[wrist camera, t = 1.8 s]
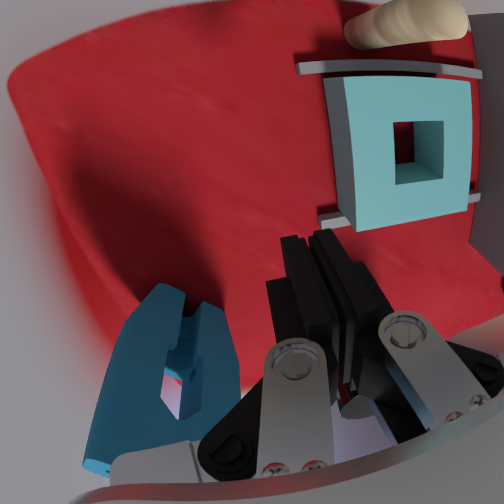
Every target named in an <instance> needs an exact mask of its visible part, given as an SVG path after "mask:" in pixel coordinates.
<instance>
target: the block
mask: <svg viewBox="0 0 504 504" xmlns="http://www.w3.org/2000/svg"><path fill="white" fill-rule="evenodd" d="M185 296H186V294H185V292H183V291H181V290H178V289H176V288H174V287H172V286H170V285H168V284H165V283H159V284H157V285H156V286H155V287H154V288H153V290H152V291H151V292H150V293H149V294H148V295H147V296H146V298H145V299H144V300H143V301H142V302H141V303H140V305H139V306H138V307H137V308H136V309H135V310H134V312H133V313H132V314H131V315H130V316H129V318H128V319H127V320H126V321H125V323H124V325H123V327H122V329H121V332H120V334H119V337H118V339H117V341H116V344H115V347H114V350H113V353H112V356H111V359H110V362H109V365H108V368H107V372H106V375H105V378H104V381H103V385H102V388H101V392H100V395H99V399H98V402H97V406H96V409H95V413H94V417H93V421H92V425H91V429H90V433H89V437H88V441H87V445H86V450H85V454H84V460H83V464H82V467H83V468H85V469H86V470H88V471H91V472H93V473H96V474H99V475H102V476H106V477H108V478H110V476H109V474H110V467H111V465H112V463H113V461H114V460H115V459H116V458H117V457H118V456H120V455H123V454H125V453H130V452H136V451H141V450H146V449H151V448H156V447H161V446H165V445H170V444H174V443H178V442H182V441H186V440H189V441H190V442H194V441H198V440H201V439H203V437H204V436H205V435H206V434H207V433H208V432H209V431H210V430H211V429H212V428H213V427H214V426H215V425H216V424H217V423H218V422H219V421H220V420H221V419H222V418H223V417H224V416H225V415H226V414H227V413H228V412H229V411H230V410H231V409H232V408H233V407H234V406H235V405H236V404H237V403H238V402H239V401H240V400H241V389H240V365H239V361H238V357H237V354H236V351H235V347H234V344H233V341H232V337H231V334H230V330H229V327H228V323H227V320H226V316H225V313H224V311H223V310H222V309H220V308H218V307H215V306H213V305H211V304H209V303H207V302H204V301H202V303H201V304H200V306H199V307H198V309H197V310H196V311H195V313H194V314H193V315H192V316H190V317H183V316H182V312H183V307H184V301H185ZM164 374H166V375H168V376H171V377H173V378H176V379H179V380H182V381H183V382H182V392H181V402H180V411H179V420H177V419H176V418H175V417H174V415H173V414H172V413H171V411H170V410H169V409H168V407H167V406H166V405H165V403H164V402H163V400H162V399H161V398H160V393H161V387H162V381H163V375H164Z"/></svg>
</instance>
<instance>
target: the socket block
mask: <svg viewBox="0 0 504 504" xmlns="http://www.w3.org/2000/svg"><path fill="white" fill-rule="evenodd" d="M323 83H324V89H325V95H326V102H327V109H328V116H329V123H330V130H331V138H332V147H333V156H334V166H335V176H336V187H337V200H338V208H339V210H340V211H341V212H342V214H343V215H344V216H345V217H346V219H347V220H348V221H349V223H350V224H351V225H352V227H353V228H354V229H355V231H356V232H360V231H365V230H370V229H375V228H380V227H385V226H390V225H395V224H400V223H405V222H411V221H416V220H421V219H426V218H431V217H436V216H441V215H446V214H451V213H456V212H461V211H466V210H467V204H468V196H469V186H470V174H471V158H472V105H471V89H470V82H467V81H459V80H451V79H442V78H430V77H412V76H352V77H334V78H323ZM408 121H413V128H414V162H412V163H403V164H395V151H394V132H393V122H408Z"/></svg>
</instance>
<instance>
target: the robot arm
mask: <svg viewBox="0 0 504 504" xmlns="http://www.w3.org/2000/svg"><path fill="white" fill-rule="evenodd" d="M280 241H281V247H282V254H283V260H284V266H285V272H286V277H284V278H279V279H274V280H269V281H266V287H267V293H268V298H269V304H270V309H271V315H272V320H273V326H274V332H275V337H276V343H277V344H276V345H275V346H274V347H272V348H271V349H270V351H269V352H268V354H267V355H266V358H265V362H264V372H263V377H262V378H261V379H260V380H259V382H258V383H257V384H256V385H255V386H254V387H253V388H252V389H251V390H250V391H249V392H248V393H247V394H246V395H245V396H244V397H243V398H242V399H241V400H240V401H239V402H238V403H237V404H236V405H235V406H234V407H233V408H232V409H231V410H230V411H229V412H228V413H227V414H226V415H225V416H224V417H223V418H222V419H221V420H220V421H219V422H218V423H217V424H216V425H215V426H214V427H213V428H212V429H211V430H210V431H209V432H208V433H207V434H206V435H205V436H204V437H203V439H201V440H198V441H194V442H190V441H189V440H186V441H182V442H178V443H174V444H170V445H165V446H161V447H156V448H151V449H146V450H141V451H136V452H130V453H125V454H123V455H120V456H118V457H117V458H116V459H115V460H114V461H113V463H112V465H111V467H110V474H109V476H110V486H108V487H102V488H98V489H95V490H92V491H88V492H86V493H84V494H81V495H79V496H77V497H76V498H74V499H73V500H72V501H71V502H69V504H504V352H501V353H498V354H497V356H496V357H494V356H491V355H490V354H487V353H484V352H481V351H477V350H474V349H471V348H467V347H465V346H461V345H458V344H455V343H452V342H449V341H446V340H444V339H443V338H442V337H441V336H440V334H439V333H438V332H437V331H436V330H435V329H434V328H433V326H432V325H431V324H430V323H429V322H428V321H427V320H426V319H425V318H424V317H423V316H421V315H419V314H417V313H415V312H410V311H398V312H394V310H393V308H392V307H391V305H390V303H389V302H388V300H387V299H386V297H385V295H384V294H383V292H382V290H381V289H380V287H379V286H378V284H377V283H376V281H375V279H374V278H373V276H372V275H371V273H370V272H369V270H368V269H367V267H366V266H365V264H364V263H363V262H362V261H357V262H353V263H352V261H351V259H350V258H349V256H348V255H347V253H346V251H345V250H344V248H343V247H342V245H341V243H340V242H339V240H338V239H337V237H336V236H335V234H334V233H333V231H332V229H331V228H327V229H322V230H317V231H314V232H313V236H309V237H308V242H309V247H308V245H307V243H306V241H305V239H304V238H298V236H297V235H292V236H287V237H282V238H280ZM338 375H339V378H340V381H341V383H342V384H344V383H348V386H349V389H350V391H354V390H357V392H358V394H360V395H363V396H365V397H366V399H367V402H368V405H369V406H370V408H371V410H372V412H373V414H374V415H375V417H376V419H377V420H378V423H379V424H380V426H381V428H382V430H383V432H384V434H385V435H386V437H387V439H388V441H389V443H390V444H391V446H392V447H390V448H387V449H384V450H382V451H379V452H376V453H373V454H370V455H366V456H363V457H360V458H356V459H353V460H350V461H346V462H342V463H338V464H335V462H334V444H333V429H332V416H331V406H332V405H333V404H334V402H335V401H336V399H337V386H338Z"/></svg>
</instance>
